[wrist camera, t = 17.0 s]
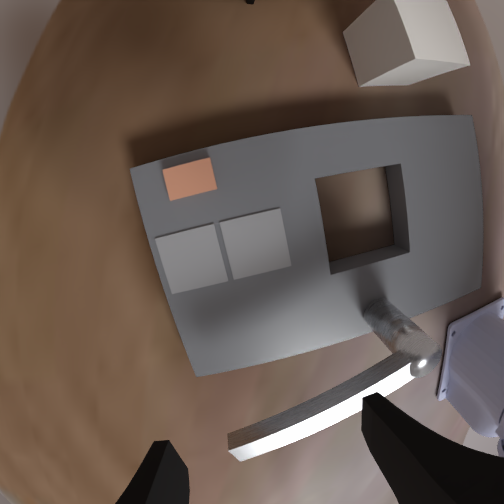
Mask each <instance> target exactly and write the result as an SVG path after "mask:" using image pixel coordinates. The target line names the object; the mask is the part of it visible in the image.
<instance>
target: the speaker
mask: <svg viewBox="0 0 504 504" xmlns="http://www.w3.org/2000/svg"><path fill="white" fill-rule="evenodd" d="M246 1H247V4H254V1H255V0H246Z"/></svg>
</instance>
